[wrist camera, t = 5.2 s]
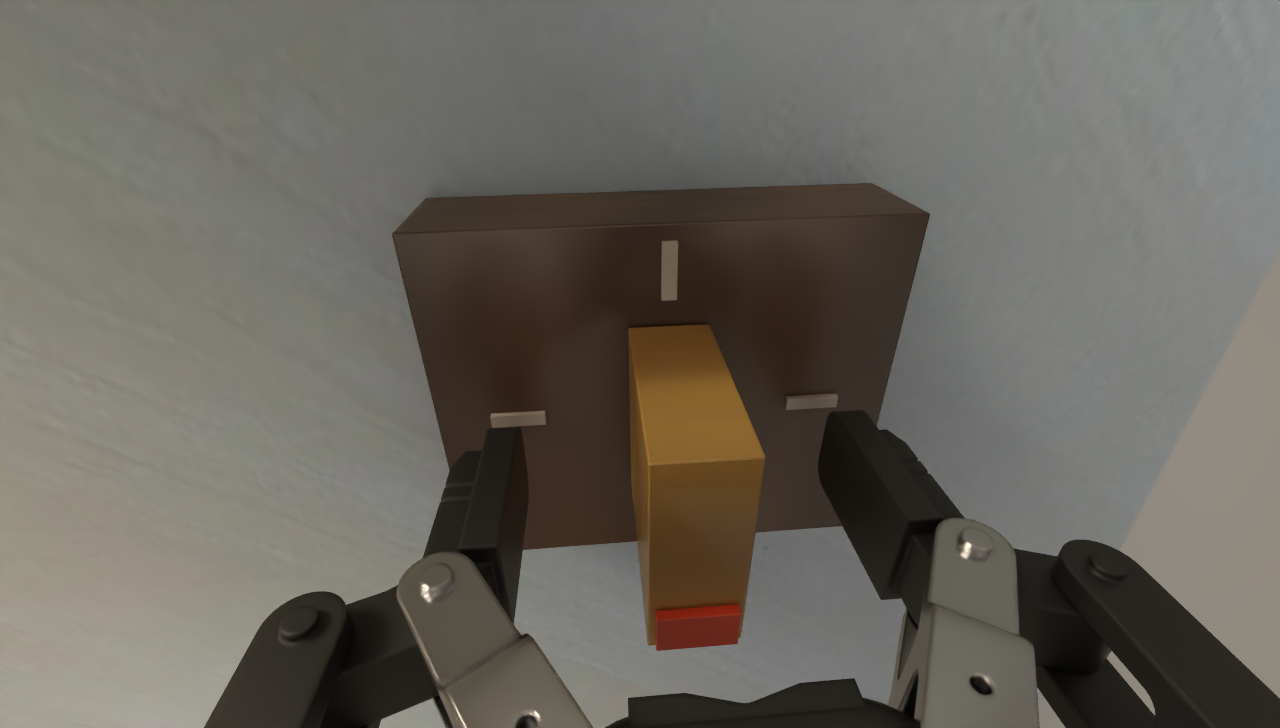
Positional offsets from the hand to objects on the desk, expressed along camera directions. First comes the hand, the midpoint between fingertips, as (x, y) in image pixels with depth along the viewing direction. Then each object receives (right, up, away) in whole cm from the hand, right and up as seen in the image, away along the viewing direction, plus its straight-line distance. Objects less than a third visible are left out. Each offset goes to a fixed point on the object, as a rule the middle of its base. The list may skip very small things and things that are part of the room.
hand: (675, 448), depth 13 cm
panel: (0, +2, +4) cm, 5 cm away
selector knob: (0, +1, +1) cm, 2 cm away
